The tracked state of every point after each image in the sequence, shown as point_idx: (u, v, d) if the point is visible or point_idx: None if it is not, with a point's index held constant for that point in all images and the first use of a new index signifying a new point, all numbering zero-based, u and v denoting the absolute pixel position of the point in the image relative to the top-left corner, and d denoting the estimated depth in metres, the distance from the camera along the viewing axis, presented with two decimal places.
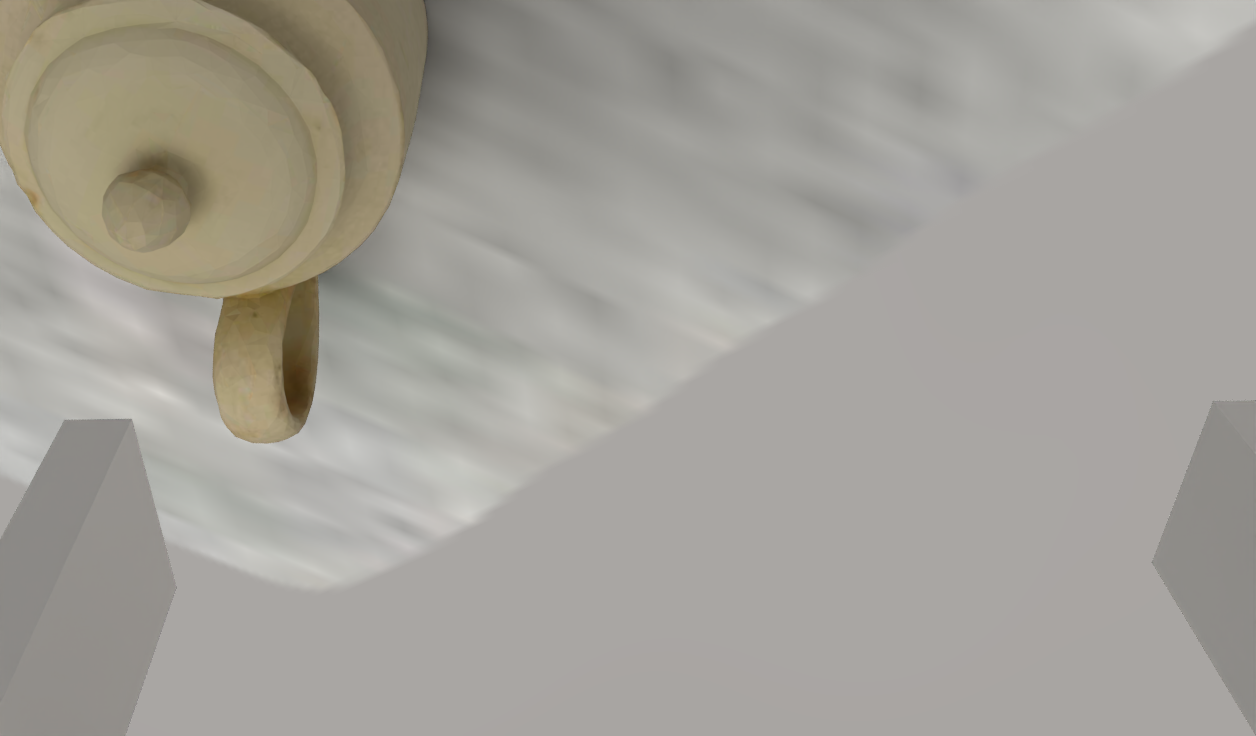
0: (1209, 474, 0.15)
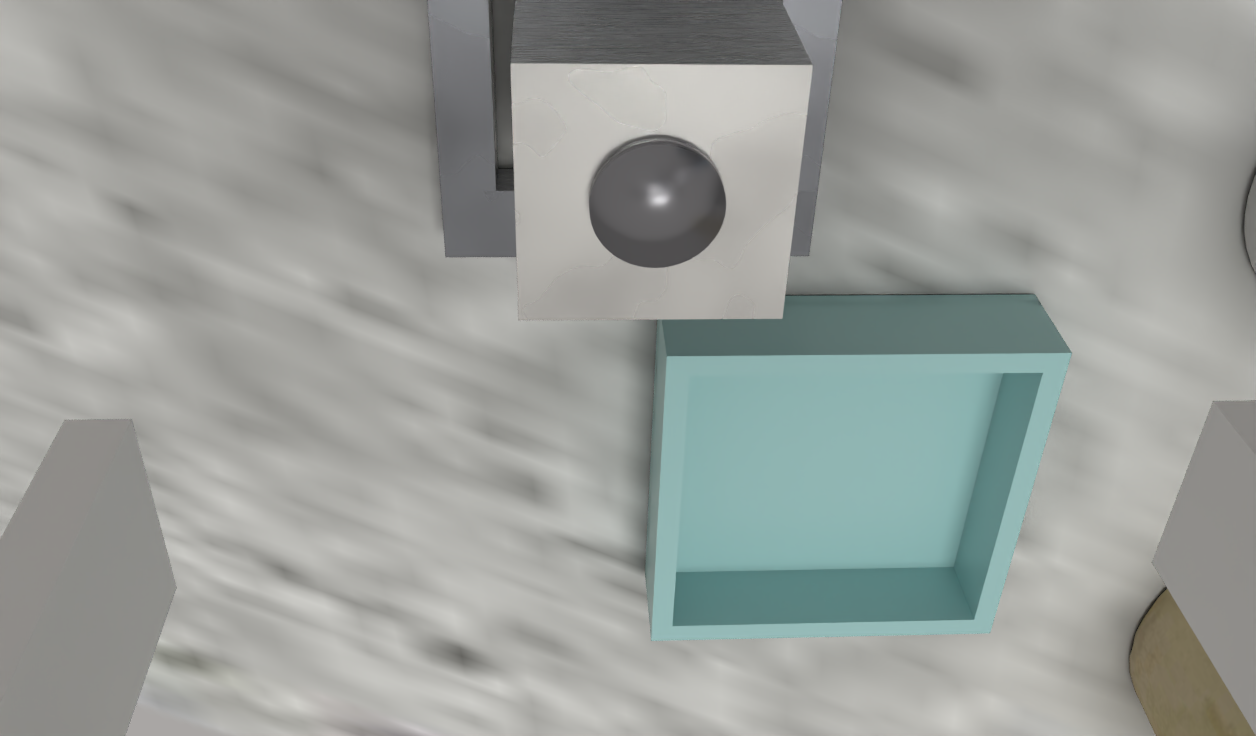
0: (1209, 474, 0.15)
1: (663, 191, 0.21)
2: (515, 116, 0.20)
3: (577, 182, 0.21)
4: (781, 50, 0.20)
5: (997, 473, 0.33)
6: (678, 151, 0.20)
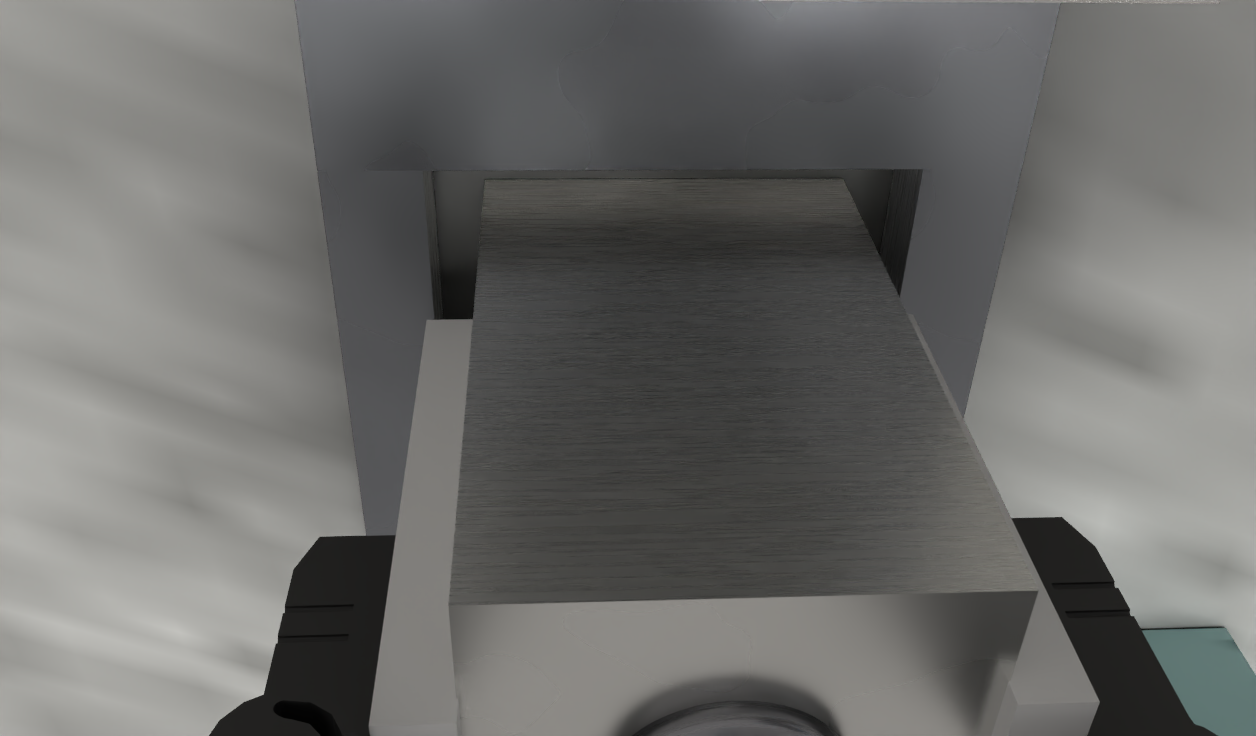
0: None
1: None
2: (461, 679, 0.10)
3: None
4: (967, 537, 0.11)
5: None
6: None
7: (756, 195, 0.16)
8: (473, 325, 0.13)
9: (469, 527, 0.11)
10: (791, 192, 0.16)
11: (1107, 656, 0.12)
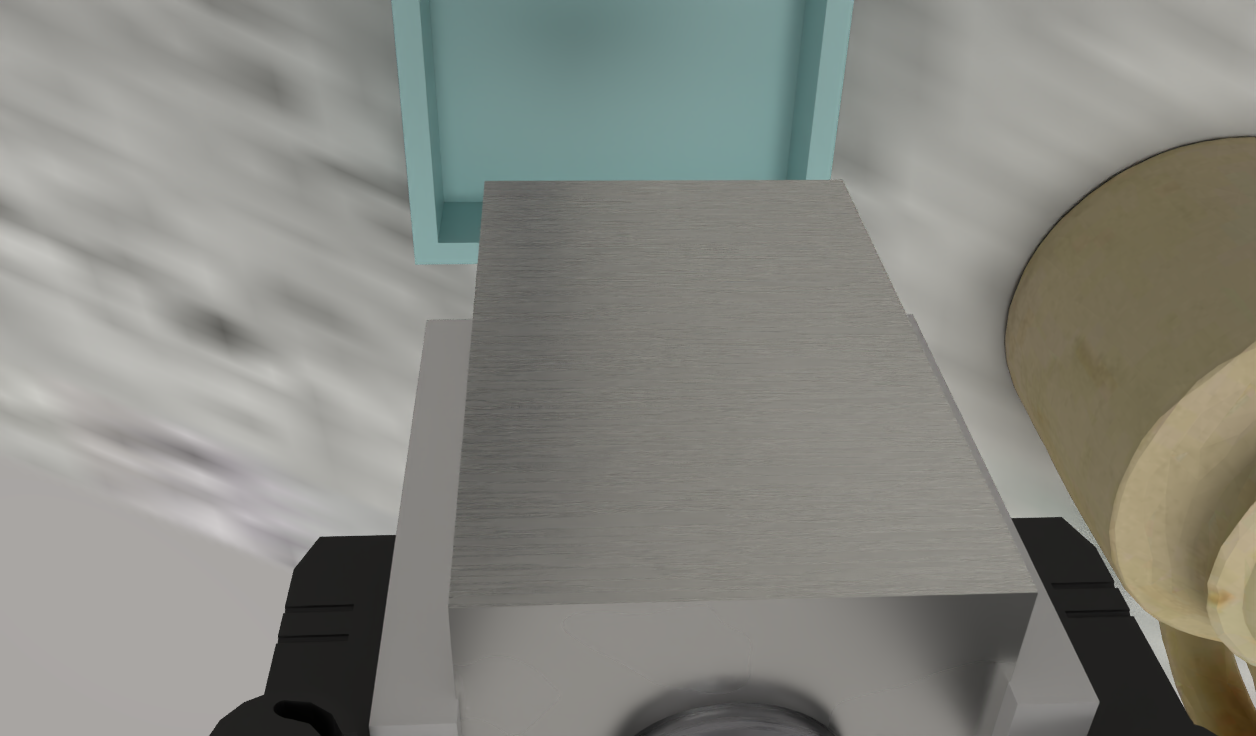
0: None
1: None
2: (461, 681, 0.10)
3: None
4: (967, 539, 0.11)
5: (812, 37, 0.28)
6: None
7: (755, 196, 0.16)
8: (473, 327, 0.13)
9: (469, 529, 0.11)
10: (791, 193, 0.16)
11: (1107, 655, 0.12)
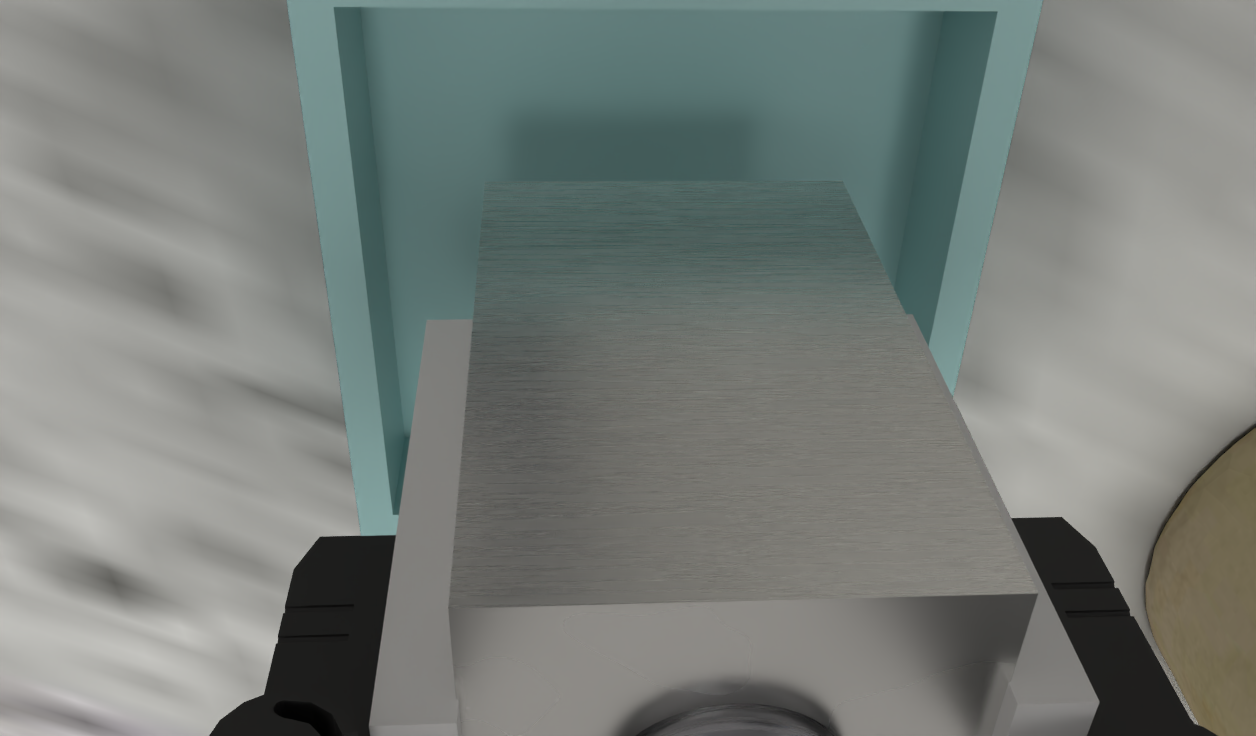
0: None
1: None
2: (461, 682, 0.10)
3: None
4: (967, 539, 0.11)
5: (927, 243, 0.20)
6: None
7: (756, 197, 0.16)
8: (473, 327, 0.13)
9: (469, 530, 0.11)
10: (790, 194, 0.16)
11: (1108, 655, 0.12)
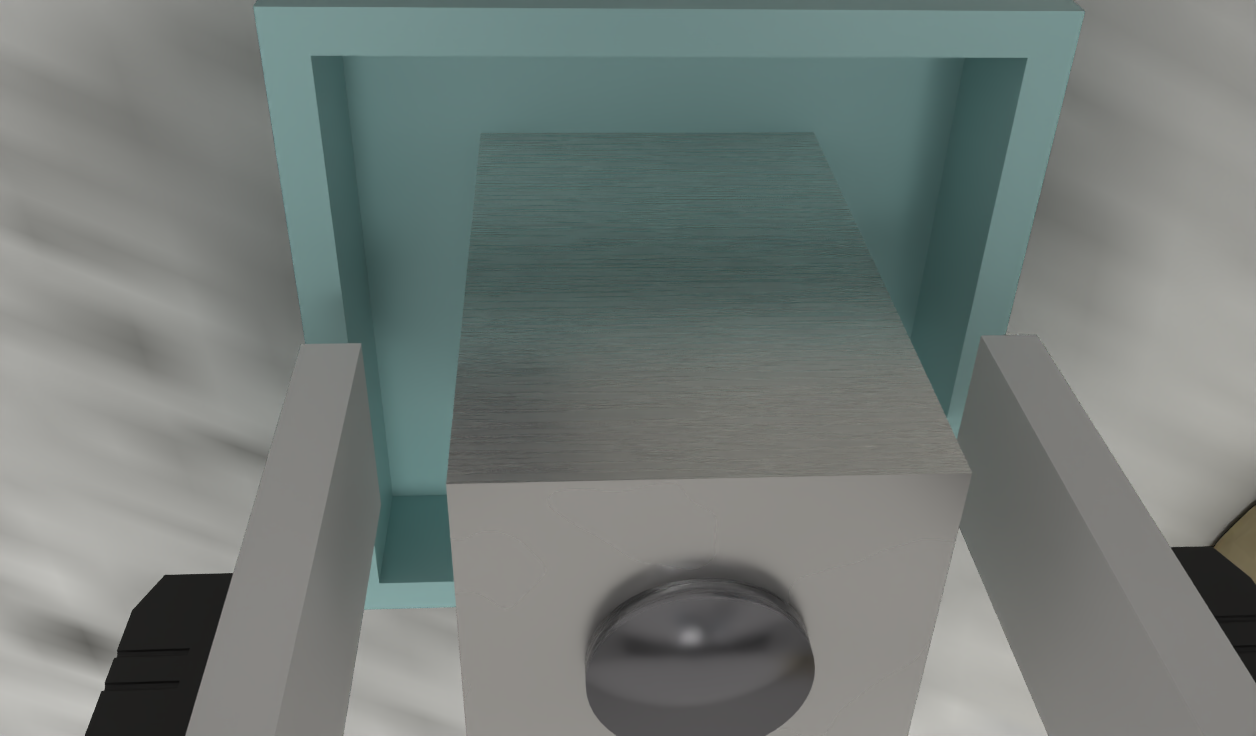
0: (979, 404, 0.16)
1: (710, 659, 0.12)
2: (458, 555, 0.12)
3: (564, 639, 0.12)
4: (912, 430, 0.12)
5: (947, 297, 0.18)
6: (737, 607, 0.12)
7: (732, 147, 0.17)
8: (469, 256, 0.15)
9: (465, 421, 0.12)
10: (765, 144, 0.18)
11: None
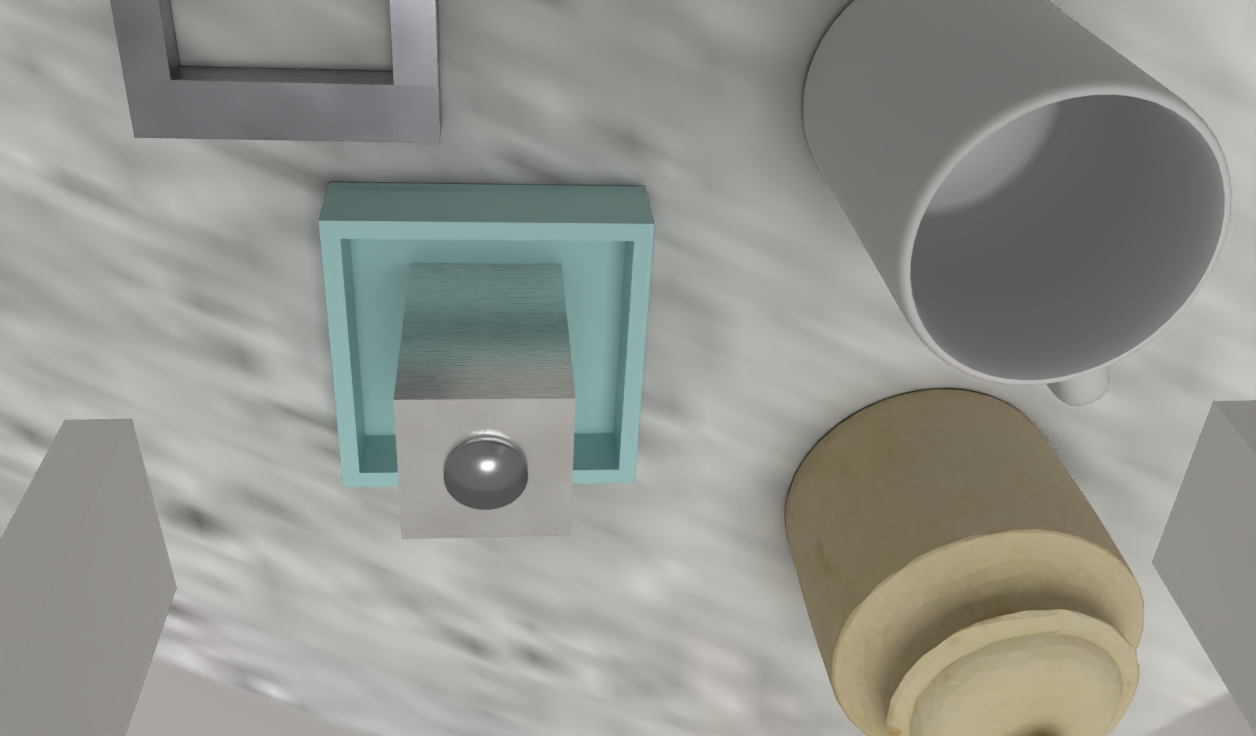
0: (1208, 474, 0.15)
1: (488, 468, 0.34)
2: (397, 427, 0.33)
3: (436, 461, 0.34)
4: (559, 385, 0.34)
5: (623, 338, 0.40)
6: (496, 446, 0.33)
7: (522, 270, 0.39)
8: (403, 320, 0.36)
9: (400, 380, 0.33)
10: (538, 269, 0.39)
11: None
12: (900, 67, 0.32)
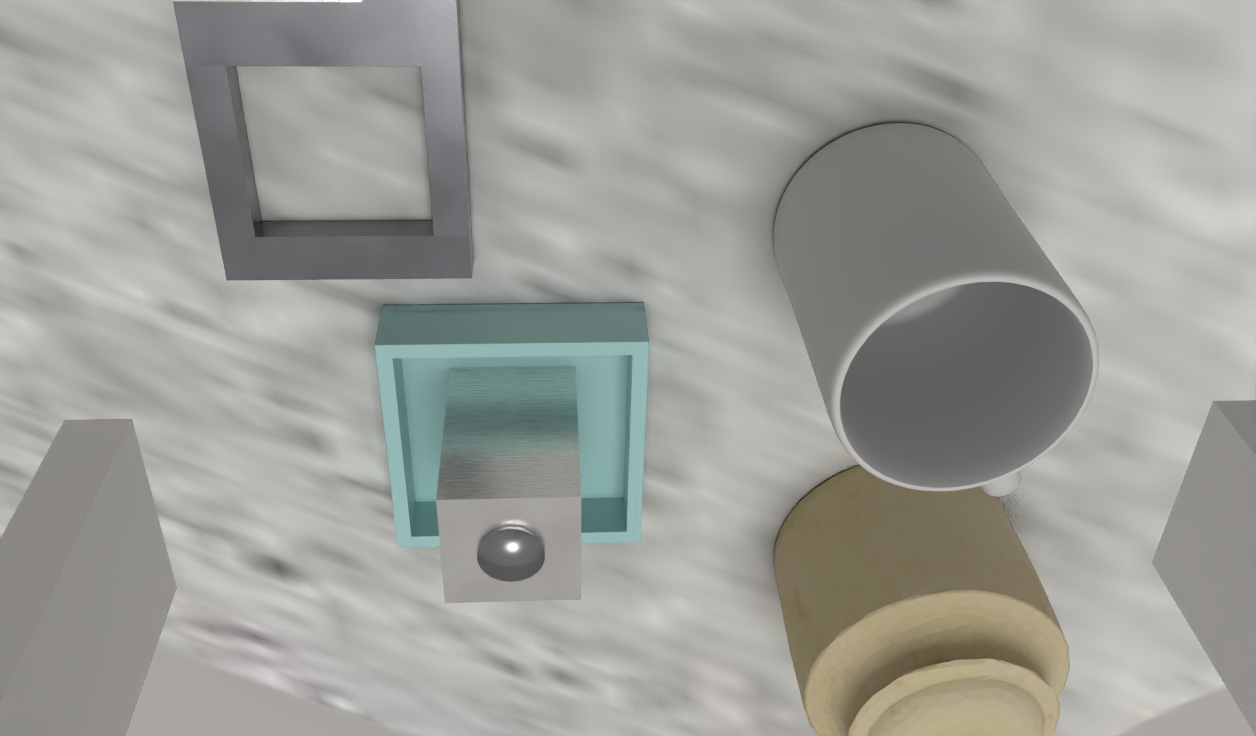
0: (1209, 474, 0.15)
1: (513, 550, 0.42)
2: (439, 519, 0.41)
3: (471, 545, 0.42)
4: (569, 484, 0.42)
5: (628, 426, 0.48)
6: (518, 534, 0.42)
7: (543, 373, 0.47)
8: (444, 424, 0.44)
9: (441, 482, 0.42)
10: (555, 372, 0.47)
11: None
12: (839, 233, 0.39)
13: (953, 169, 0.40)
